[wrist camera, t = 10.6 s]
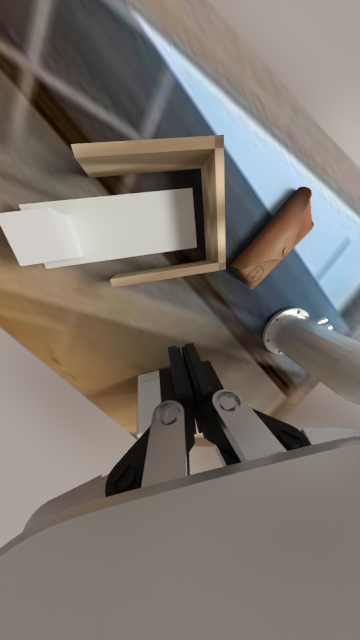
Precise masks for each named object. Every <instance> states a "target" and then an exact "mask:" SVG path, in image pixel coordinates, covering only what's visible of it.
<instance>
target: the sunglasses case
mask: <svg viewBox="0 0 360 640" xmlns="http://www.w3.org/2000/svg"><path fill="white" fill-rule="evenodd" d="M311 195H312V192H311V190H310V189H309V188H307V187H300V188H298V189H297V190H296V191H295V192H294V193H293V194H292V195H291V197H290V198H289V199H288V200H287V201H286V202H285V204H284V205H283V206H282V207H281V208H280V209H279V211H278V212H277V213H276V214H275V215H274V216H273V218H272V219H271V220H270V221H269V222H268V223H267V224H266V226H265V227H264V228H263V229H262V230H261V231H260V232H259V233H258V235H257V236H256V237H255V238H254V239H253V240H252V241H251V242H250V244H249V245H248V246H247V247H246V248H245V249H244V250H243V251H242V252H241V253H240V254H239V256H238V257H237V258H236V259H235V260H234V261H233V262H232V264H231V265H230V266H229V268H231V270H232V271H233V272H234V273H235V274H236V275H237V276H238V277H239V278H240V279H241V280H242V281H243V282H244V283H245V284H246V285H248V286H249V287H250V288H251V289H253V288H254V287H255V286H257V285H258V284H259V283H260V282H261V281H262V280H263V279H264V278H265V277H266V276H267V275H268V274H269V273H270V272H271V270H272V269H273V268H274V267H275V266H276V265H277V264H278V263H279V262H280V261H281V260H282V259H283V258H284V257H285V256H286V255H287V254H288V253H289V252H290V251H291V250H292V249H293V248H294V247H295V246H296V245H297V244H298V243H299V242H300V241H301V240H302V238H304V236H305V235H306V234H307V233H309V231H310V230H311V229H312V228H313V226H314V223H313V222H312V219H311V205H310V198H311Z"/></svg>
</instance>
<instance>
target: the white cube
mask: <svg viewBox="0 0 360 640" xmlns="http://www.w3.org/2000/svg"><path fill="white" fill-rule="evenodd" d="M0 226H1V228H2V230H3V232H4V234H5V236H6V238H7V240H8V242H9V244H10V246H11V248H12V250H13V252H14V254H15V256H16V258H17V260H18V262H19V264H20V266H26V265H33V264H40V263H47V262H53V261H60V260H67V259H73V258H80V257H82V254H81V251H80V248H79V245H78V242H77V239H76V237H75V234H74V231H73V228H72V225H71V222H70V219H69V217H68V216H67V215H65V214H62V213H60V212H58V211H55V210H53V209H51V208H41V209H32V210H24V211H15V212H6V213H0Z"/></svg>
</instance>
